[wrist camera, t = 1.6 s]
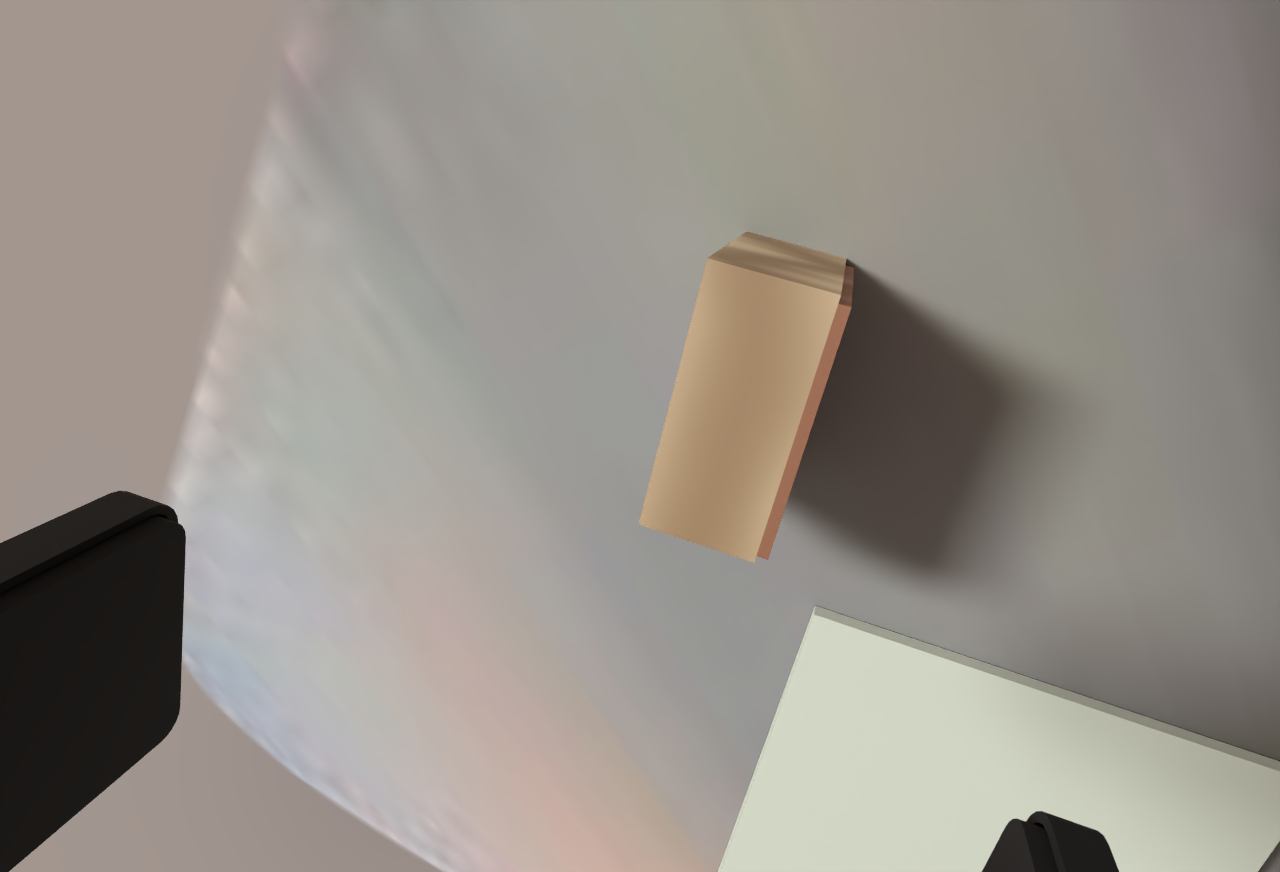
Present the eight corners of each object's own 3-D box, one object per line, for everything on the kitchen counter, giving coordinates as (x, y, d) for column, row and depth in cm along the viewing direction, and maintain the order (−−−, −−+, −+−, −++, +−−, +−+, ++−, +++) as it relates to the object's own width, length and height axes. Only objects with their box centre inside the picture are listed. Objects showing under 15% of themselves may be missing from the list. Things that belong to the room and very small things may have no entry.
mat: (1309, 771, 26) (1318, 784, 25) (1093, 1082, 32) (1097, 1098, 31) (815, 605, 28) (814, 614, 28) (699, 923, 34) (696, 935, 34)
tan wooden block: (856, 260, 25) (854, 298, 18) (788, 469, 27) (765, 566, 21) (746, 231, 25) (707, 258, 19) (690, 438, 28) (638, 524, 21)
